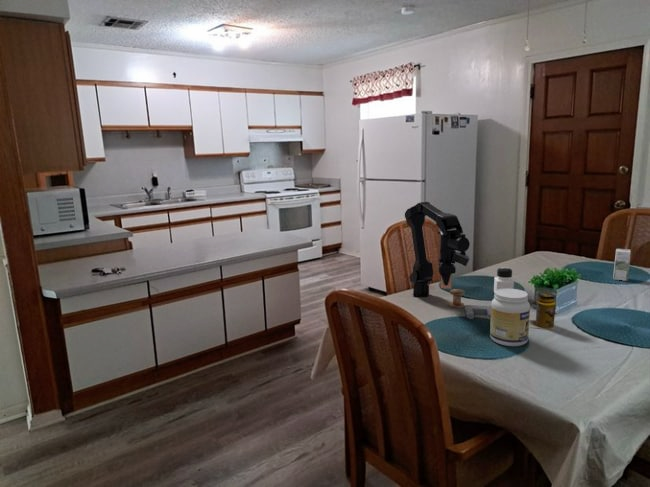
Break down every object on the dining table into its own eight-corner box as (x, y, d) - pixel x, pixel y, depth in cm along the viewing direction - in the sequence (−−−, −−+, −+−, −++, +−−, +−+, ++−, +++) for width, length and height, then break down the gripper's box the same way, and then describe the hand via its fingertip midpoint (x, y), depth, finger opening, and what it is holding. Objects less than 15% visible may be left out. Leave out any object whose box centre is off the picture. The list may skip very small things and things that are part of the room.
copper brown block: (440, 288, 182) (441, 274, 181) (440, 285, 186) (441, 271, 185) (451, 288, 181) (451, 274, 180) (450, 285, 185) (451, 271, 184)
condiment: (556, 330, 161) (558, 298, 158) (530, 328, 163) (532, 296, 161) (552, 322, 168) (555, 291, 165) (528, 320, 170) (530, 290, 168)
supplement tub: (524, 350, 146) (527, 300, 142) (486, 343, 152) (488, 295, 149) (530, 336, 156) (533, 289, 152) (494, 330, 162) (496, 285, 159)
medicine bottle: (513, 297, 195) (515, 270, 193) (496, 297, 197) (497, 270, 194) (510, 292, 202) (511, 266, 200) (493, 291, 204) (494, 266, 201)
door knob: (449, 308, 186) (450, 293, 184) (449, 303, 191) (449, 288, 190) (464, 308, 184) (465, 293, 183) (463, 303, 190) (464, 289, 189)
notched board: (467, 318, 174) (467, 313, 173) (465, 309, 183) (465, 304, 183) (494, 319, 172) (494, 314, 171) (491, 310, 181) (491, 305, 181)
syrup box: (627, 278, 216) (630, 249, 213) (627, 281, 211) (630, 251, 208) (613, 277, 219) (616, 247, 216) (613, 280, 214) (616, 250, 211)
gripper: (470, 253, 169) (468, 292, 173) (466, 241, 187) (465, 277, 190) (439, 252, 172) (438, 290, 175) (439, 241, 189) (438, 276, 193)
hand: (446, 283), depth 183 cm, fingers closed on copper brown block, 4 cm apart
